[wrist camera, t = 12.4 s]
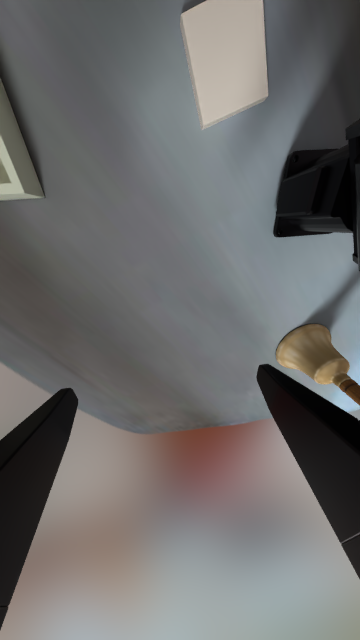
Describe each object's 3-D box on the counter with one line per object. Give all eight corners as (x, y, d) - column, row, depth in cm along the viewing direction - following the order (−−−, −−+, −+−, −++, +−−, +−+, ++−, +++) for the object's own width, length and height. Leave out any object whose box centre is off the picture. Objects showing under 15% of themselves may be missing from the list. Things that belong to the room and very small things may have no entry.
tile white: (251, -5, 11) (261, -29, 10) (259, 105, 13) (268, 95, 12) (179, 32, 11) (181, 13, 10) (200, 133, 14) (203, 125, 13)
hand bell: (338, 321, 24) (572, 449, 11) (316, 364, 28) (464, 496, 15) (284, 325, 24) (457, 466, 10) (269, 368, 28) (377, 511, 14)
